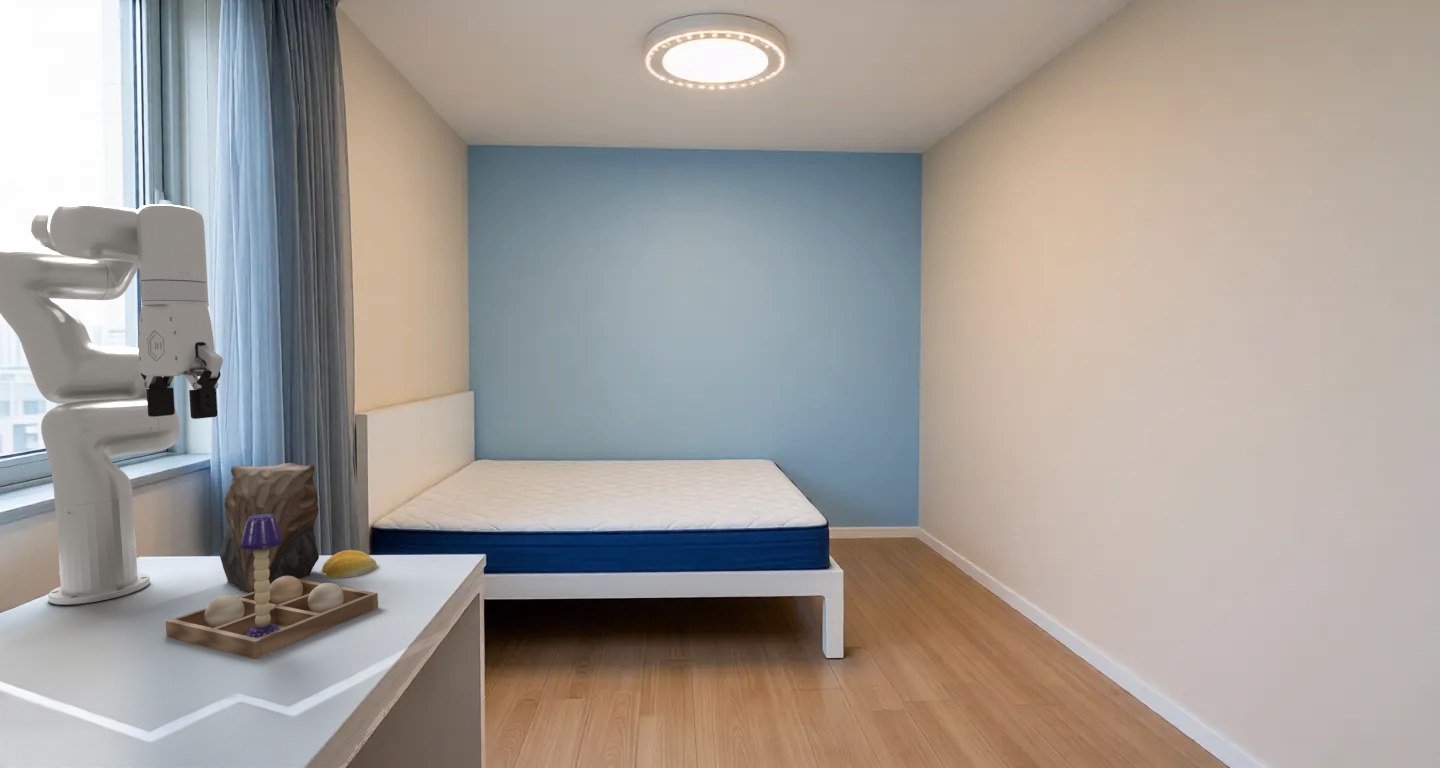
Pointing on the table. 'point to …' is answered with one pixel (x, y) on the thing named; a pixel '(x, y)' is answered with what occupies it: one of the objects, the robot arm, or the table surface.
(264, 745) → the table surface
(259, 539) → the toy lamp
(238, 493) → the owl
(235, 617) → the egg
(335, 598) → the egg
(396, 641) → the table surface
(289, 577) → the egg
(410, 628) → the table surface
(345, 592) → the organizer
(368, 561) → the bread roll
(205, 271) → the robot arm
